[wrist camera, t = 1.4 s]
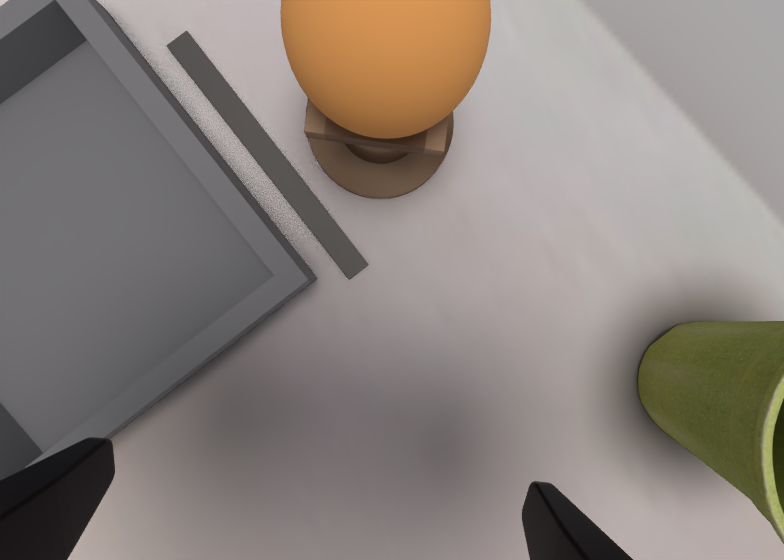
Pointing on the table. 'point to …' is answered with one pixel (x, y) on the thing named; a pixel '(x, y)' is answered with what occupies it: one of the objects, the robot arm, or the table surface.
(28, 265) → the grey square tray
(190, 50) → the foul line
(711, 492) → the table surface
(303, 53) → the ball
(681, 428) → the plant pot
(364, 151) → the tee
